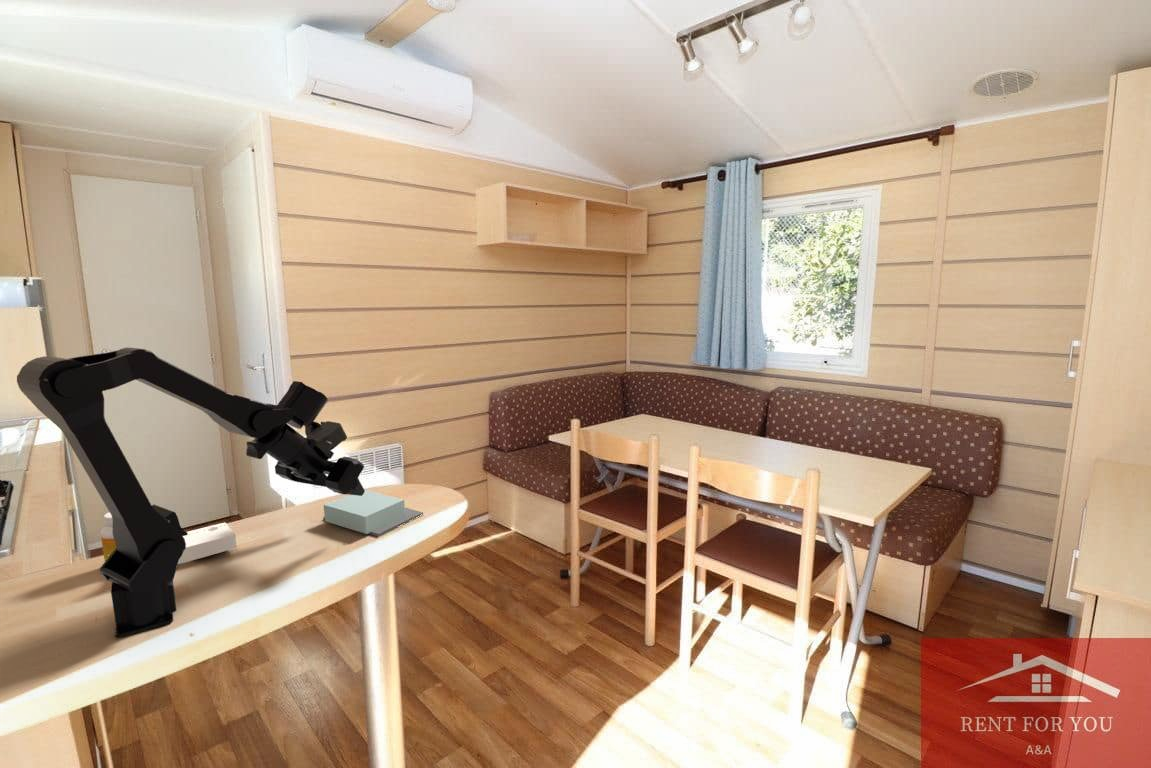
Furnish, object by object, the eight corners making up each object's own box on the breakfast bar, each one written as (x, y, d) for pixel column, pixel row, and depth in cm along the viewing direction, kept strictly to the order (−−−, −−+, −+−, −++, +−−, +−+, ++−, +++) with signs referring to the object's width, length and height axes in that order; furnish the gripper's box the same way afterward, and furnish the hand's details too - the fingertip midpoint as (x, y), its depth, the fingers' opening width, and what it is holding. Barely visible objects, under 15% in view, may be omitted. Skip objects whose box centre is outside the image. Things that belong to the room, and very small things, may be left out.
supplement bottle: (128, 575, 93) (120, 520, 91) (97, 573, 93) (89, 519, 91) (154, 559, 98) (147, 507, 96) (124, 558, 98) (117, 506, 97)
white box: (147, 578, 92) (142, 535, 91) (141, 562, 97) (135, 521, 96) (237, 552, 101) (233, 513, 100) (226, 539, 106) (222, 502, 105)
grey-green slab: (365, 516, 107) (404, 499, 116) (323, 504, 113) (363, 489, 121) (366, 533, 108) (404, 515, 116) (324, 521, 113) (364, 504, 122)
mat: (378, 536, 108) (378, 533, 108) (323, 519, 115) (323, 517, 115) (423, 515, 118) (423, 512, 118) (369, 500, 126) (369, 498, 126)
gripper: (352, 417, 98) (401, 461, 110) (284, 405, 107) (337, 447, 118) (315, 472, 93) (372, 512, 104) (247, 455, 101) (306, 494, 113)
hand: (346, 489), depth 110 cm, fingers open, 9 cm apart
